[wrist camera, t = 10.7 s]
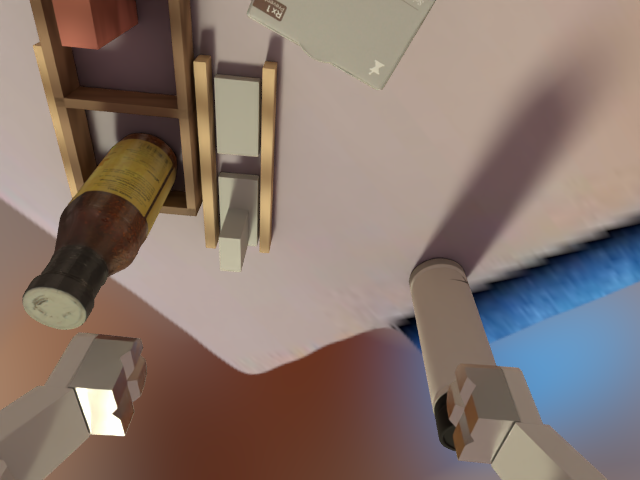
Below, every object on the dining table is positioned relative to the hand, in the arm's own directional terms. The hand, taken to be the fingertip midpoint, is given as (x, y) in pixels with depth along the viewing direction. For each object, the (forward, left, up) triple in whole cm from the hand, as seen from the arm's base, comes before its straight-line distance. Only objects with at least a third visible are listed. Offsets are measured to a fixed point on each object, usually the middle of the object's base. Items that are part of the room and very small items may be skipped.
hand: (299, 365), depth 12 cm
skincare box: (-6, +1, -33) cm, 34 cm away
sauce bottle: (+13, -16, -33) cm, 39 cm away
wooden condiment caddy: (+5, -16, -33) cm, 37 cm away
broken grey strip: (+12, -7, -33) cm, 36 cm away
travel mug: (+24, +15, -33) cm, 44 cm away
